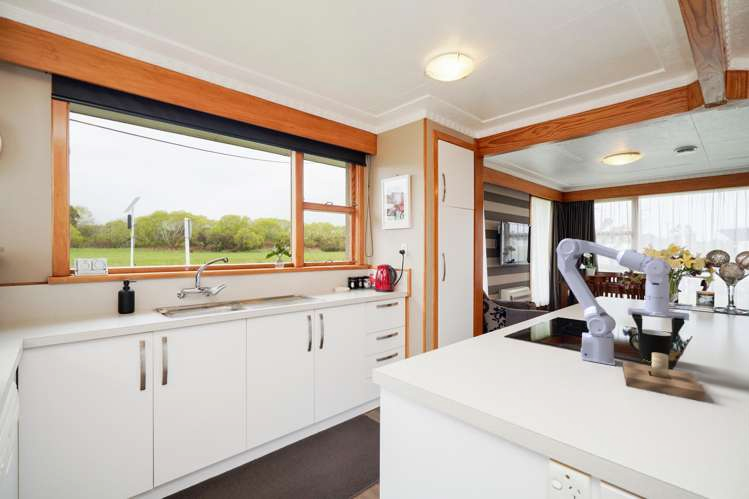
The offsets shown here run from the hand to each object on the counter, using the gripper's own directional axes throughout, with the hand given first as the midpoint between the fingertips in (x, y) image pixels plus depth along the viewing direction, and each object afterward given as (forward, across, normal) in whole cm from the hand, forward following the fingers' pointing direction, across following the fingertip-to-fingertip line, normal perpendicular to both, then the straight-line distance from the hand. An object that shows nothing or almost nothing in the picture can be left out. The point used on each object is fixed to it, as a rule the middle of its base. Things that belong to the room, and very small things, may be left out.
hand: (656, 340), depth 104 cm
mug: (+10, -1, +16) cm, 19 cm away
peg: (+10, 0, -10) cm, 15 cm away
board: (+10, 0, -10) cm, 15 cm away
